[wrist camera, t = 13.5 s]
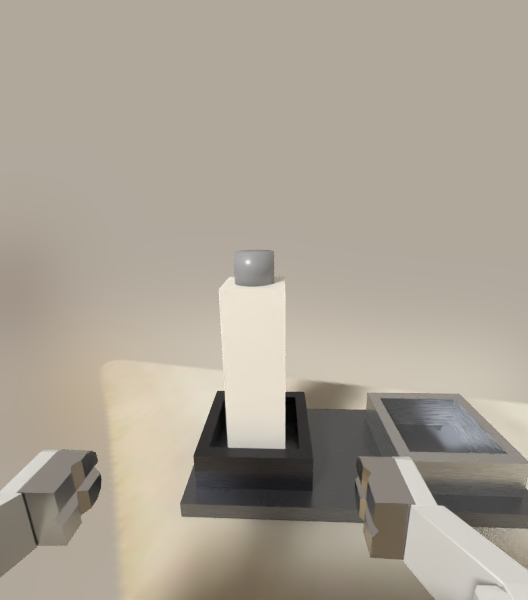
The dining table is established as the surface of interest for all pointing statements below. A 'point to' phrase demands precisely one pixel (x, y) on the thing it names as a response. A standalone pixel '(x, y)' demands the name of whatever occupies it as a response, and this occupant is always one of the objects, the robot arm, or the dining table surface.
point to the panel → (343, 455)
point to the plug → (254, 352)
